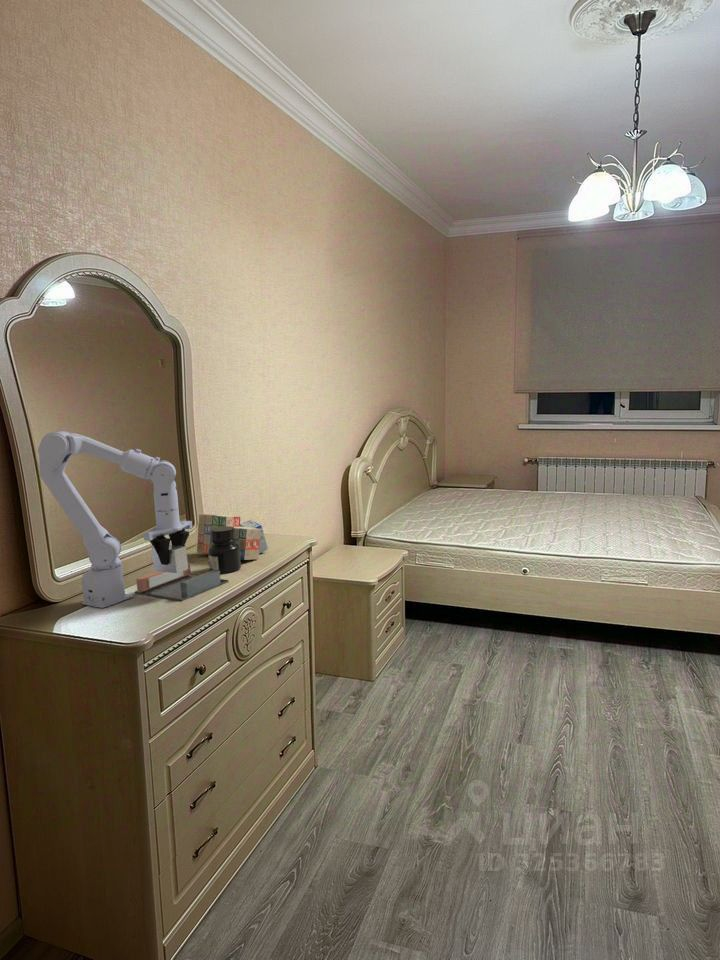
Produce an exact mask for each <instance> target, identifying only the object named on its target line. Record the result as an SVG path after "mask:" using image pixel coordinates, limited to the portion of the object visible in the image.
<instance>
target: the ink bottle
mask: <svg viewBox="0 0 720 960" xmlns="http://www.w3.org/2000/svg"><path fill="white" fill-rule="evenodd" d="M210 534H211V542H212V543H213V544H212V545H211V546H210V547H209V549H208V554H207V555H208V564H209V565H208V566H209V571H212V570H220V574H227V573H233V572H237V571H239V570H240V569H241V568H242V563H241V562H242V561H241V559H240V547H239V545H238V544H236V543H235V542H234V541H235V530H234V527H232V526H222V527H215V528H212V529H210Z"/></svg>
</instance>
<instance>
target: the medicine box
mask: <svg viewBox="0 0 720 960" xmlns="http://www.w3.org/2000/svg"><path fill="white" fill-rule="evenodd" d="M240 527H249V528H256V529H261V537H260V547H259V554H261V553H264V552H266V551H268V550H269V547H268V546H269V545H268V542H267V539H266V536H265V532H264V529H263V525H261V524H260V523H258V522H255V521H254V520H252V519H249V520H245V521H244V522H240Z"/></svg>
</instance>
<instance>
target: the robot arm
mask: <svg viewBox="0 0 720 960" xmlns="http://www.w3.org/2000/svg"><path fill="white" fill-rule="evenodd" d="M37 453H38V461H39V465H38V466H39V477H40V478H41V480H42V481H43V483H44V484H45V486H46V487H47V488H48V490H49V492H50V493H51V494H52V496H53V497H54V499H55V500H56V502H57V503H58V504H59V505H60V507H61V509H62V510H63V511H64V513H65V515H66V516H67V517H68V519H69V520H70V522H71V523H72V525H73V526H74V527H75V529H76V530H77V532H78V533H79V535H80V536H81V538H82V542H83V545H84V548H85V550H86V551H87V553H88V559H89V563H91V565H90V566H91V568H90V569H89V570H88V571H86V572H84V573H83V574H82V577H81V587H82V597H83V601H82V602H81V604H82V605H84V606H90V607H94V608H100V609H105V608H106V607H110V606H112V605H115V604H118V603H120V602H123V601H125V600H128V599H132V598H133V597H134V595H133V594H130V593H126V589H125V580H124V579H125V578H124V570H123V561H122V560H121V559H120V558H119V557H118V556H119V555H120V554H121V552H122V545H121V542H120V541H119V539H117V538H116V537H115V536H113V535H111V534H110V532H109V531H108V530H107V528H105V527H103V526H102V525H101V524H100V523H99V521H98V520H97V518H96V517H95V515H94V514H93V512H92V511H91V509H90V508H89V507H88V504H86V503H87V502H85V500H84V499H83V498H82V496H81V494H79V491H78V490H77V489H76V487H75V486H74V485H73V482H71V480H70V479H69V477H68V476H67V474H66V473H65V471H66V468H67V464H68V461H69V459H70V457H71V456H74V455H82V454H88V455H91V456H95V457H98V458H100V459H104V460H105V461H109V462H112V463H115V464H117V465H118V466H119V467H120V469H121V471H122V472H125V473H128V474H129V475H132V476H135V477H138V478H141V479H144V480H147V481H148V480H150V481H151V483H152V484H153V493H152V494H153V501H154V513H155V514H154V515H155V523H156V527H153V528H152V529H149V530H147V531H144V532H143V540H144V541H149V543H150V544H151V545H152V548H153V547H154V548H155V550H156V552H157V554H158V557H159V559H160V562H161V564H163V565H168V564H169V545H178V546H186V543H187V541H188V538H189V536H190V532H189V531H188V530H192V529H193V521H192V520H184V521H180V511H179V510H180V509H179V498H178V497H179V496H178V490H177V483H176V480H175V479H176V475H177V470H176V467H175V466H174V465H173V464H172V462H169V461H168V460H161V457H158V456H156V457H153V456H150V455H147V454H145V453H142V450H141V449H138V448H136V449H132V448H131V449H128V450H126V451H122V450H120V449H118V448H115V447H113V446H110V445H108V444H105V443H103V442H101V441H99V440H96V439H93V438H91V437H88V436H86V435H82V434H81V433H75V432H74V433H73V432H70V431H69V430H65V429H64V430H63V429H62V430H61V429H60V430H56V431H54V432H49V433H46V434H45V435H44V436H43V437H42V438H41V441H40V443H39V445H38V448H37ZM166 536H168V537H169V538H168V537H166Z"/></svg>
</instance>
